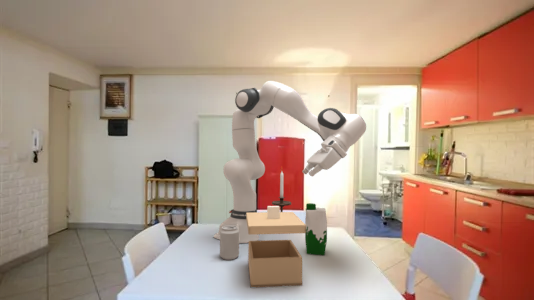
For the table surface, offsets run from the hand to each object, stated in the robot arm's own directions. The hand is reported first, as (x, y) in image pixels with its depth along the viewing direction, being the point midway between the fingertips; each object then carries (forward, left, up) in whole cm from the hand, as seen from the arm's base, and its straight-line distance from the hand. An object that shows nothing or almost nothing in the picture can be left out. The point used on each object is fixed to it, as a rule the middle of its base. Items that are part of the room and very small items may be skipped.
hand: (306, 174), depth 101 cm
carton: (-7, -14, -34) cm, 37 cm away
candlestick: (-30, +41, -34) cm, 61 cm away
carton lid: (-7, -14, -17) cm, 23 cm away
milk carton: (-1, +14, -34) cm, 37 cm away
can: (-29, -9, -34) cm, 45 cm away
